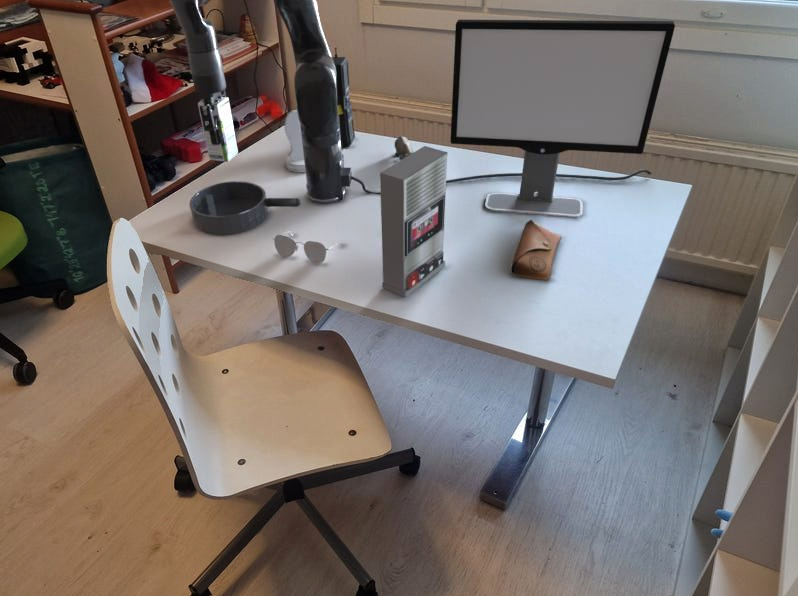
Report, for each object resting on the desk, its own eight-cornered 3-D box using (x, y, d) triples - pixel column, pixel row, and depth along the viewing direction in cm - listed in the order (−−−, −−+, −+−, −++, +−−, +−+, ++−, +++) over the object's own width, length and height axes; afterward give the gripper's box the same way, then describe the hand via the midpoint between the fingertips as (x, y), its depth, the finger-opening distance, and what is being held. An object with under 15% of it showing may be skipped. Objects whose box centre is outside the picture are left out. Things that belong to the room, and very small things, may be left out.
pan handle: (302, 204, 152) (301, 196, 151) (300, 208, 151) (299, 200, 149) (265, 204, 153) (264, 196, 152) (263, 208, 152) (262, 200, 150)
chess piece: (326, 167, 173) (321, 112, 163) (292, 175, 170) (285, 119, 161) (315, 154, 180) (309, 100, 170) (282, 161, 177) (274, 107, 168)
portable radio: (350, 149, 181) (344, 56, 164) (329, 148, 182) (322, 56, 166) (355, 138, 187) (350, 47, 170) (335, 137, 188) (328, 47, 171)
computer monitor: (446, 207, 153) (454, 24, 126) (451, 191, 159) (460, 13, 132) (626, 221, 143) (676, 27, 116) (625, 203, 149) (672, 14, 122)
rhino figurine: (404, 176, 166) (404, 154, 162) (392, 155, 176) (392, 133, 172) (419, 174, 167) (419, 152, 163) (406, 153, 177) (406, 131, 173)
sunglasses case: (553, 279, 127) (539, 252, 124) (520, 290, 131) (506, 264, 128) (563, 234, 139) (550, 209, 136) (532, 245, 143) (520, 221, 141)
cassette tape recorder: (406, 299, 126) (406, 181, 109) (382, 288, 129) (378, 172, 112) (446, 267, 133) (451, 152, 117) (422, 258, 136) (424, 145, 120)
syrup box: (208, 160, 162) (196, 102, 153) (220, 150, 166) (208, 94, 157) (228, 162, 160) (216, 104, 151) (239, 153, 165) (229, 96, 155)
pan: (275, 198, 161) (272, 181, 158) (258, 236, 148) (255, 217, 144) (206, 198, 163) (202, 181, 160) (184, 235, 150) (179, 216, 147)
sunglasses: (272, 254, 141) (271, 233, 138) (291, 241, 147) (290, 220, 145) (328, 266, 136) (328, 244, 133) (345, 252, 143) (345, 230, 140)
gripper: (213, 79, 143) (227, 150, 154) (230, 59, 154) (241, 127, 165) (182, 79, 144) (197, 150, 155) (200, 60, 155) (214, 127, 166)
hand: (220, 138), depth 160 cm, fingers closed on syrup box, 6 cm apart
